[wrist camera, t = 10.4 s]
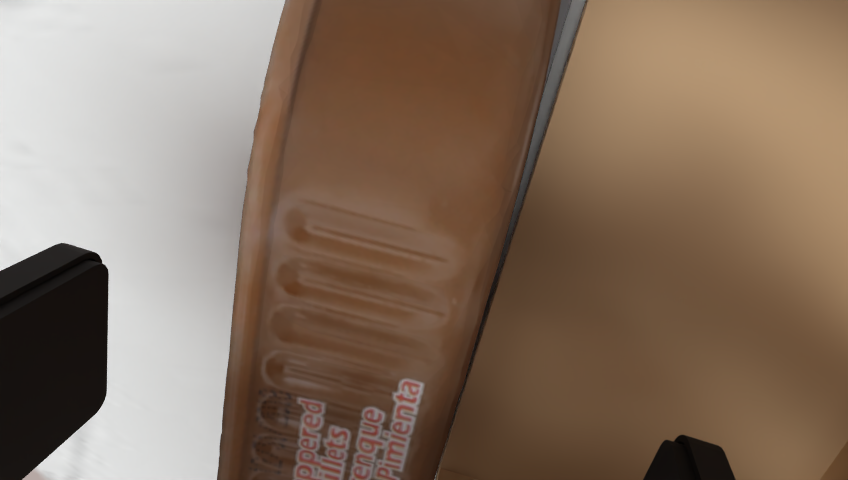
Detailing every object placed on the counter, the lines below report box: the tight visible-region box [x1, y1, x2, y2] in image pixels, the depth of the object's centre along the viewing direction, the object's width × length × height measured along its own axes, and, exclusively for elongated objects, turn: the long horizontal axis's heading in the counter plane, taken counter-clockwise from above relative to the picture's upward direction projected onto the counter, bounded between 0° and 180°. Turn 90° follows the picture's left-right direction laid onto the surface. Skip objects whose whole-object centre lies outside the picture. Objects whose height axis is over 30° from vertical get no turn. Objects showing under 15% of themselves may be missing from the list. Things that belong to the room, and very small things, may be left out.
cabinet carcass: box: [435, 0, 848, 480], centre depth 9 cm, size 16×10×10 cm, turn 167°
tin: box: [217, 0, 561, 480], centre depth 11 cm, size 15×3×8 cm, turn 167°
